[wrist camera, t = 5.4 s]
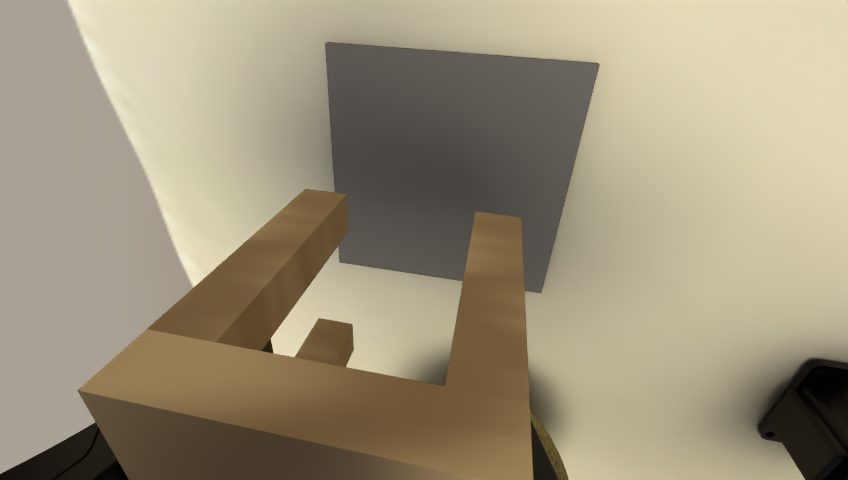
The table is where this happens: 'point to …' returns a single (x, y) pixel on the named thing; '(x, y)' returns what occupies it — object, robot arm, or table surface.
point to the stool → (319, 374)
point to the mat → (451, 152)
